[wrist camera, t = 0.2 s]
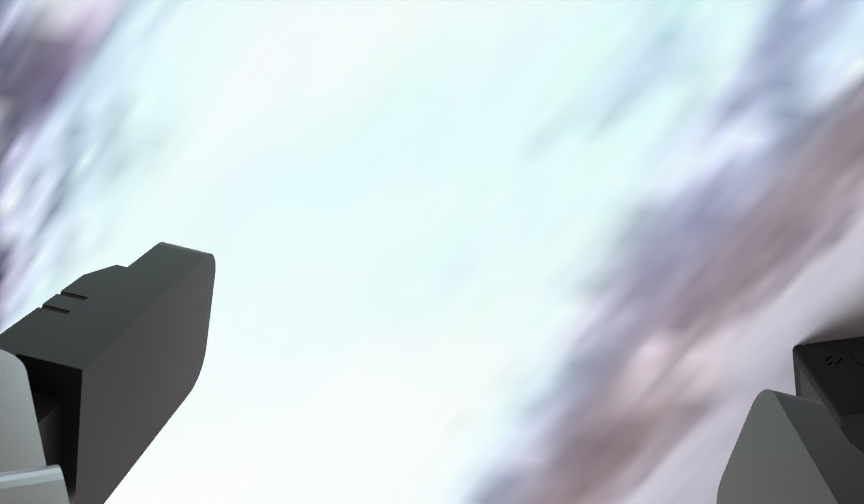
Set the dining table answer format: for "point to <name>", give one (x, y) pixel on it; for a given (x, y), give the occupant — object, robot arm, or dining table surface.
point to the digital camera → (834, 382)
